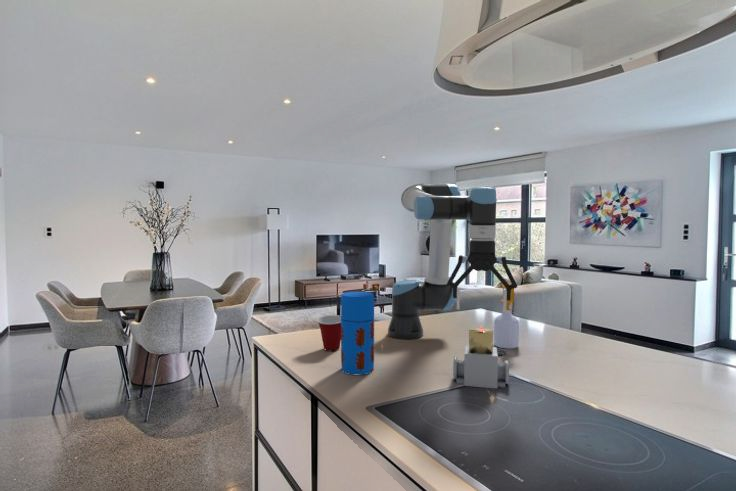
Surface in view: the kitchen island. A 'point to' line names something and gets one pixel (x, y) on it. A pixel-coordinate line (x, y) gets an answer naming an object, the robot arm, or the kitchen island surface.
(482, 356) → the grey box with flanges
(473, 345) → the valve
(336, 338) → the plastic cup
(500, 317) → the soap bottle
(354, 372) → the thermos
